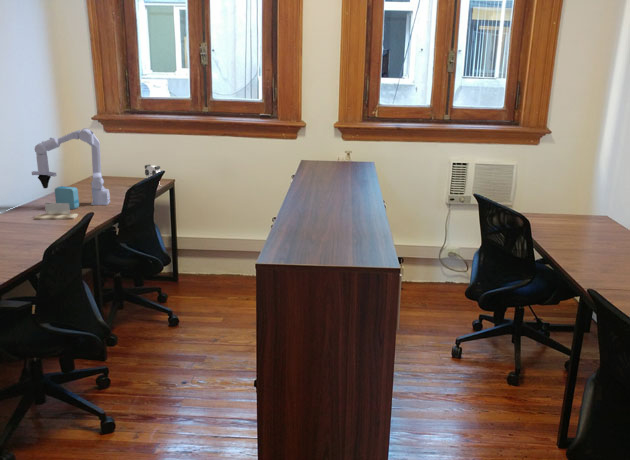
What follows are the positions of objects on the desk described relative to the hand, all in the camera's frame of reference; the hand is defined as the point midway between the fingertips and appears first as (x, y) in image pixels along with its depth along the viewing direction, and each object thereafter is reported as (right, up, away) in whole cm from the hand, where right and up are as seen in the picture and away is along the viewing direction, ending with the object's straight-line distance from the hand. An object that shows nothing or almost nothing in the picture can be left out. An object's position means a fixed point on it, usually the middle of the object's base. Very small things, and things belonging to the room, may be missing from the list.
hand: (45, 188), depth 320 cm
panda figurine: (+46, +4, +56) cm, 73 cm away
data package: (+13, -12, -1) cm, 18 cm away
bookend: (+16, -17, -21) cm, 32 cm away
